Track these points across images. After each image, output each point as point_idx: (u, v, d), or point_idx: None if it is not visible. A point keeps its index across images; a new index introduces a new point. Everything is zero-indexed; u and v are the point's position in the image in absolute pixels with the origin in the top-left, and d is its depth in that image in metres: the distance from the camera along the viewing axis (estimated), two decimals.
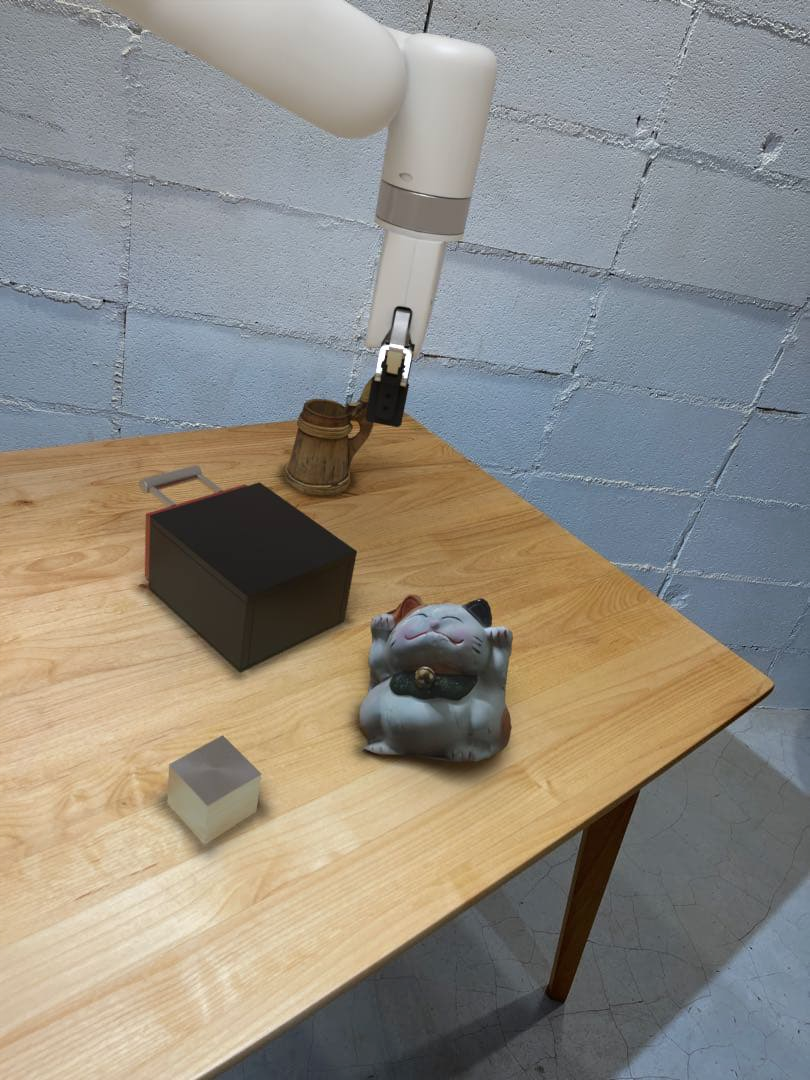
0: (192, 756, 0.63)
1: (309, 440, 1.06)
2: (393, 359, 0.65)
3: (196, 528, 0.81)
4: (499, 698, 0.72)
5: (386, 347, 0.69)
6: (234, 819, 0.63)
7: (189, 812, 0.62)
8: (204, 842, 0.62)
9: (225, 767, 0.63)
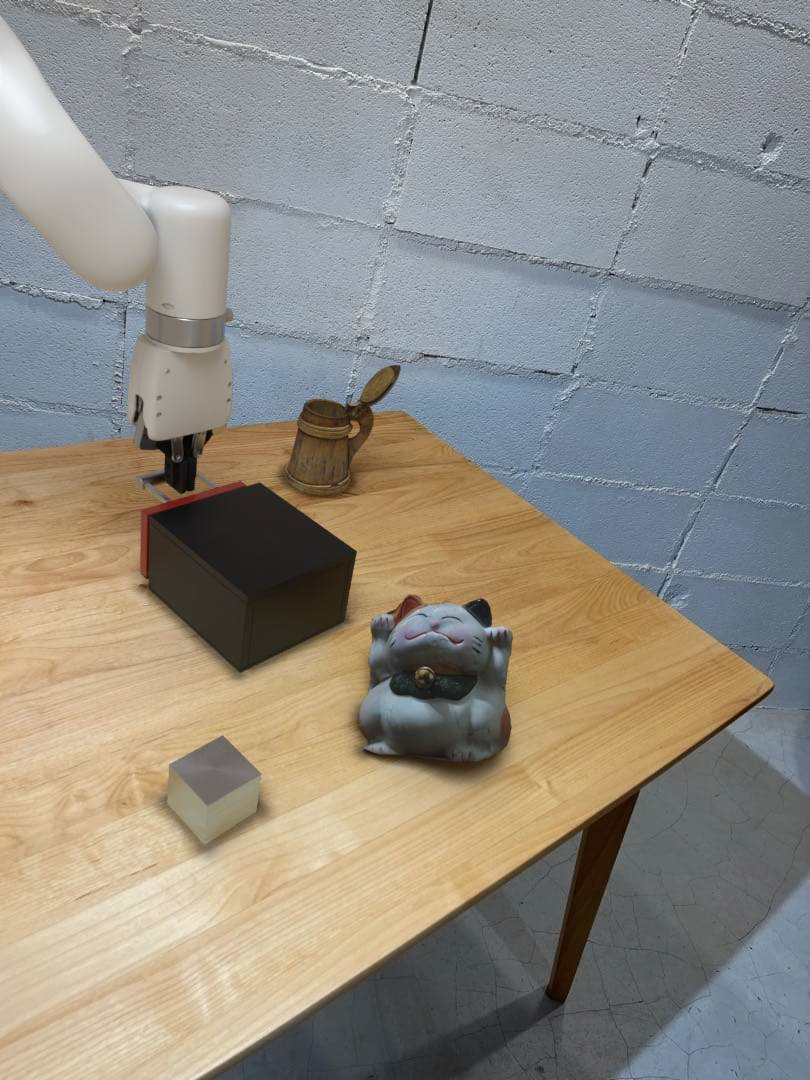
0: (192, 756, 0.63)
1: (309, 440, 1.06)
2: None
3: (196, 528, 0.81)
4: (499, 698, 0.72)
5: None
6: (234, 819, 0.63)
7: (189, 812, 0.62)
8: (204, 842, 0.62)
9: (225, 767, 0.63)
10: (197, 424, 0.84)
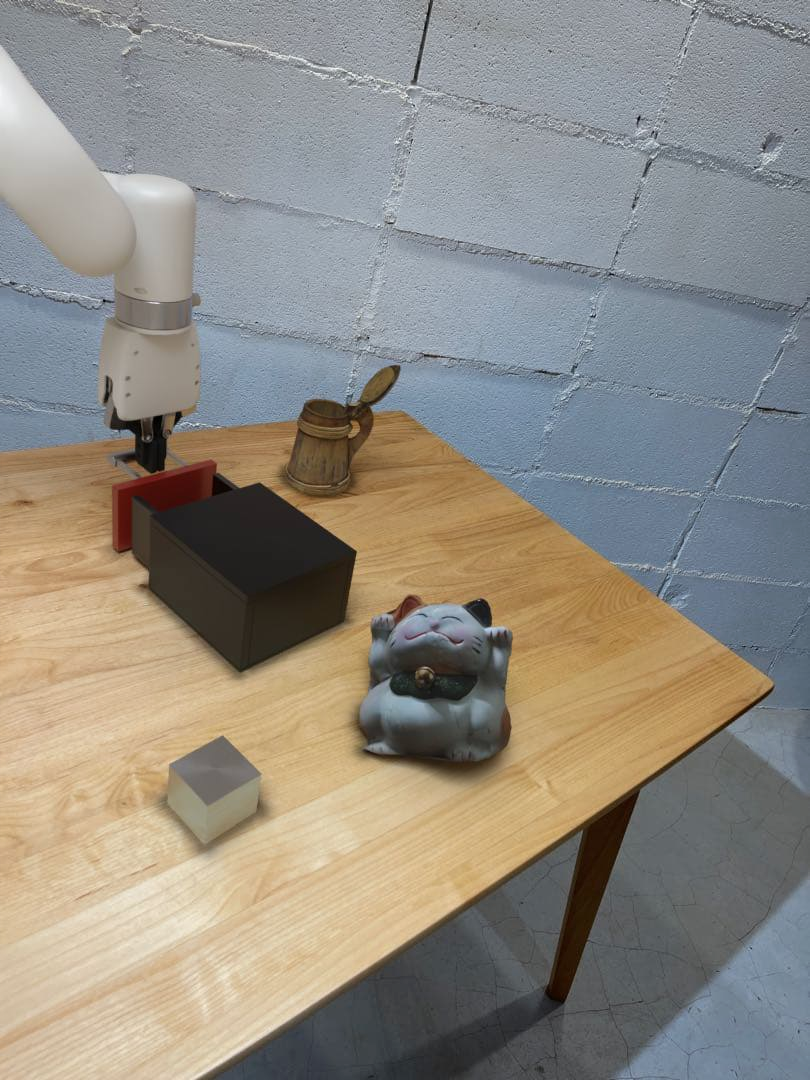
0: (192, 756, 0.63)
1: (309, 440, 1.06)
2: None
3: (196, 528, 0.81)
4: (499, 698, 0.72)
5: None
6: (234, 819, 0.63)
7: (189, 812, 0.62)
8: (204, 842, 0.62)
9: (225, 767, 0.63)
10: (166, 405, 0.87)
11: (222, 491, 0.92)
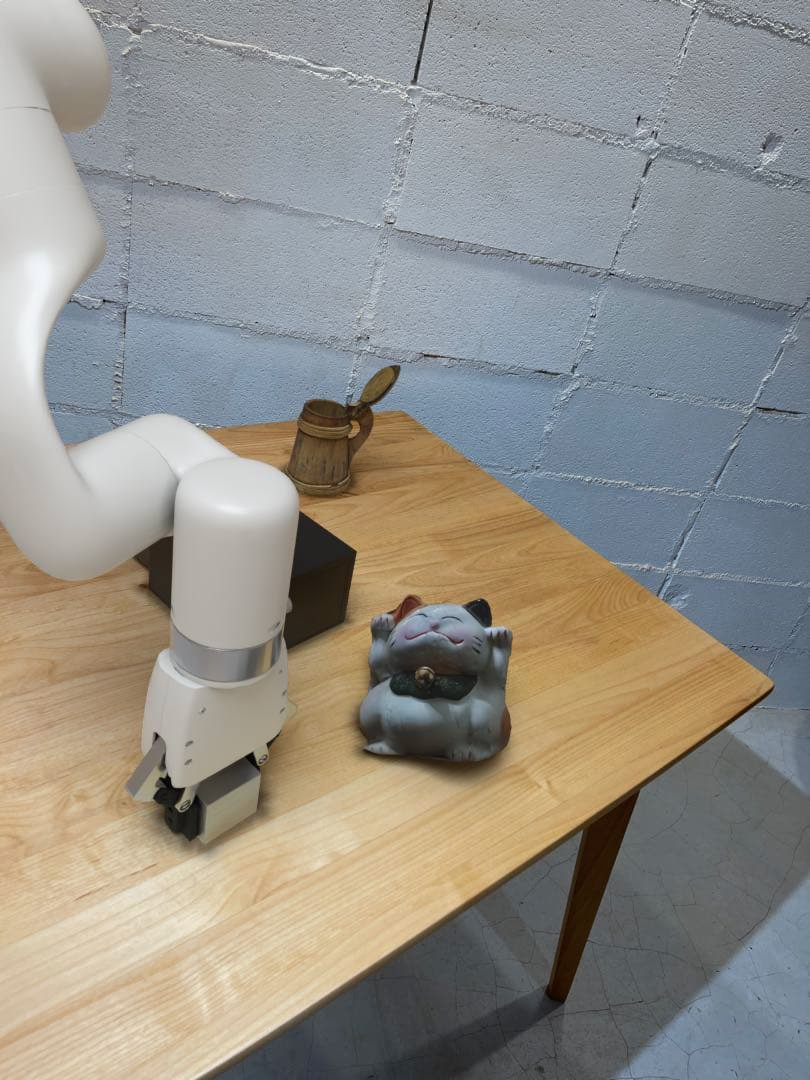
0: None
1: (309, 440, 1.06)
2: None
3: None
4: (499, 698, 0.72)
5: None
6: (234, 819, 0.63)
7: None
8: (204, 842, 0.62)
9: (225, 767, 0.63)
10: (240, 752, 0.60)
11: None
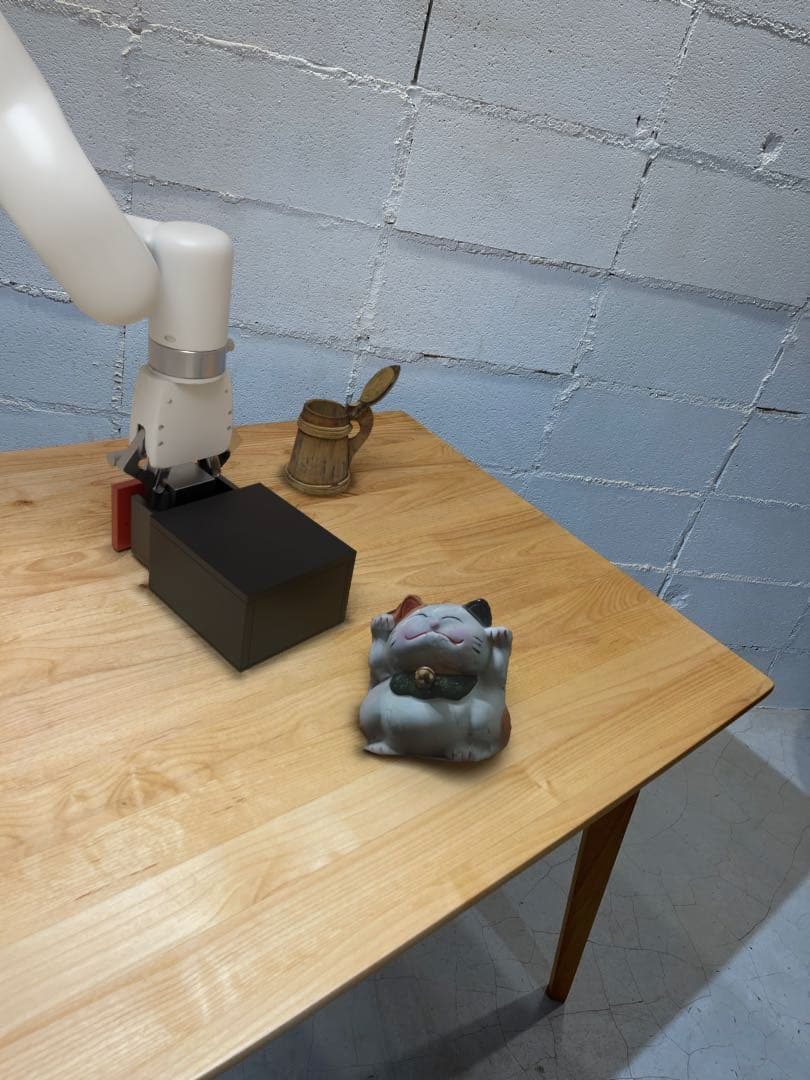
0: None
1: (309, 440, 1.06)
2: None
3: (196, 528, 0.81)
4: (499, 698, 0.72)
5: (149, 459, 0.85)
6: None
7: None
8: None
9: (189, 474, 0.88)
10: (198, 452, 0.85)
11: (221, 490, 0.92)
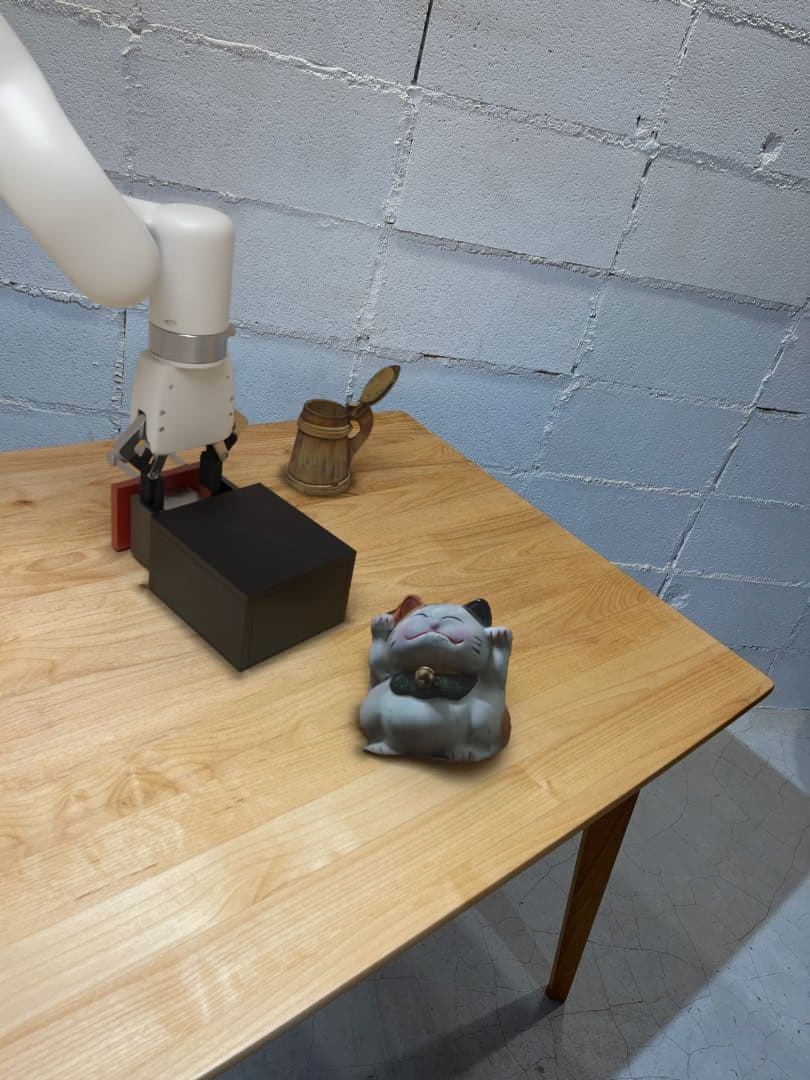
0: (164, 492, 0.90)
1: (309, 440, 1.06)
2: None
3: (196, 528, 0.81)
4: (499, 697, 0.72)
5: (146, 444, 0.84)
6: None
7: None
8: None
9: (187, 499, 0.90)
10: (199, 438, 0.84)
11: (221, 490, 0.92)
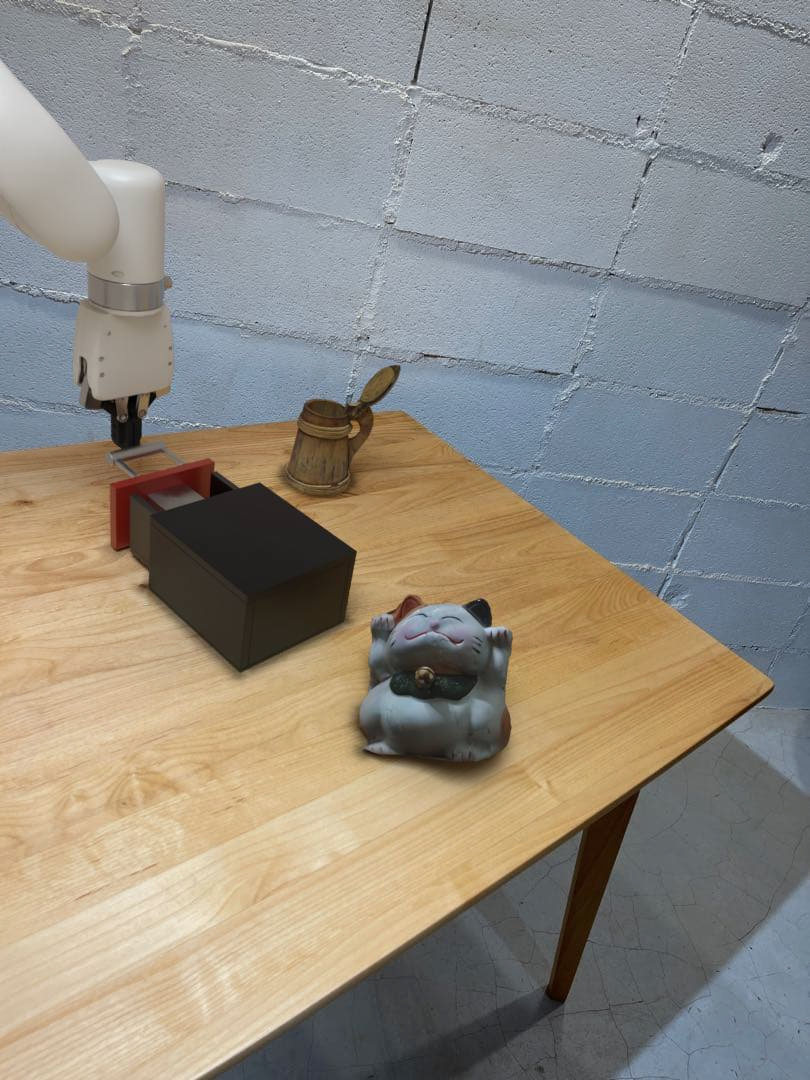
0: (163, 492, 0.90)
1: (309, 440, 1.06)
2: None
3: (196, 528, 0.81)
4: (499, 698, 0.72)
5: None
6: None
7: None
8: None
9: (186, 499, 0.90)
10: (140, 385, 0.90)
11: (220, 489, 0.92)
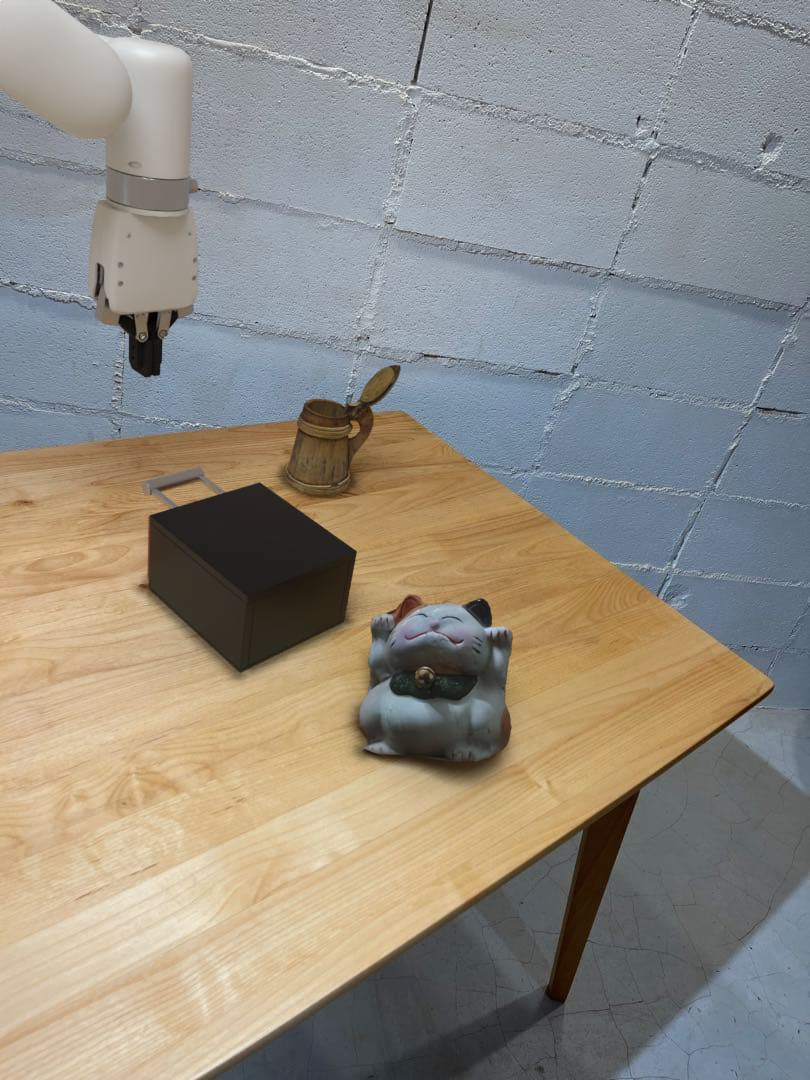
0: None
1: (309, 440, 1.06)
2: None
3: (196, 528, 0.81)
4: (499, 698, 0.72)
5: None
6: None
7: None
8: None
9: None
10: (161, 300, 0.82)
11: None
